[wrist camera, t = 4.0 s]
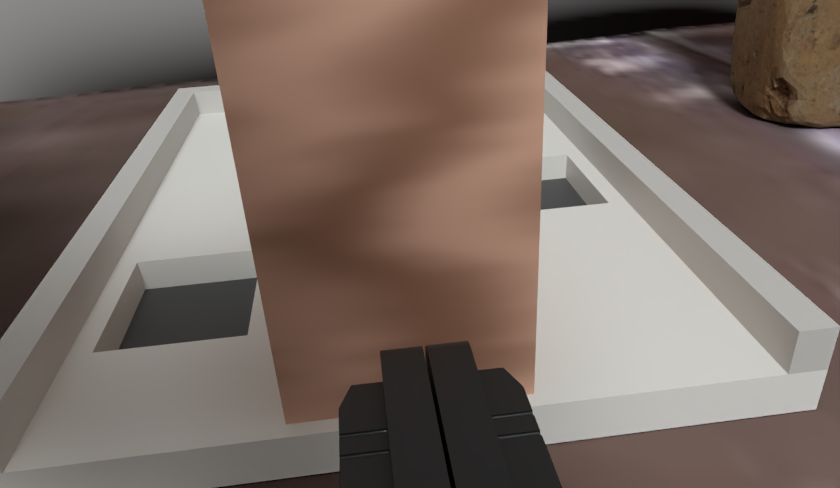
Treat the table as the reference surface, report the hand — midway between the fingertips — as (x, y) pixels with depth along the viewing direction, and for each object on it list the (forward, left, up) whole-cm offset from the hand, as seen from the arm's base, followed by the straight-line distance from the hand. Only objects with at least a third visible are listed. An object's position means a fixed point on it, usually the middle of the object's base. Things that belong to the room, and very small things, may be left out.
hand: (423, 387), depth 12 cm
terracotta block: (0, +12, -6) cm, 13 cm away
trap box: (0, +21, -7) cm, 22 cm away
